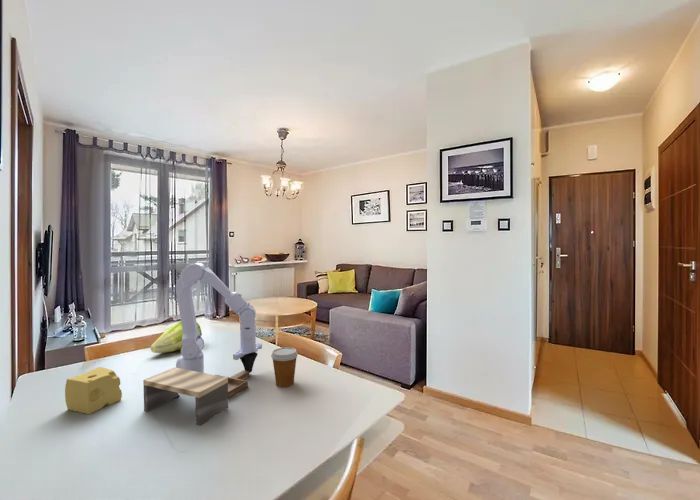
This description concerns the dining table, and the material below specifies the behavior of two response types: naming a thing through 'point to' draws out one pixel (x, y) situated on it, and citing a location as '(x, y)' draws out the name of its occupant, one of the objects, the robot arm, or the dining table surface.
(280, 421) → the dining table surface
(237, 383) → the tray
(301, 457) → the dining table surface
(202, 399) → the counter shelf
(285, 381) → the disposable coffee cup
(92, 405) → the cheese
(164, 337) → the lettuce
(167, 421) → the dining table surface
